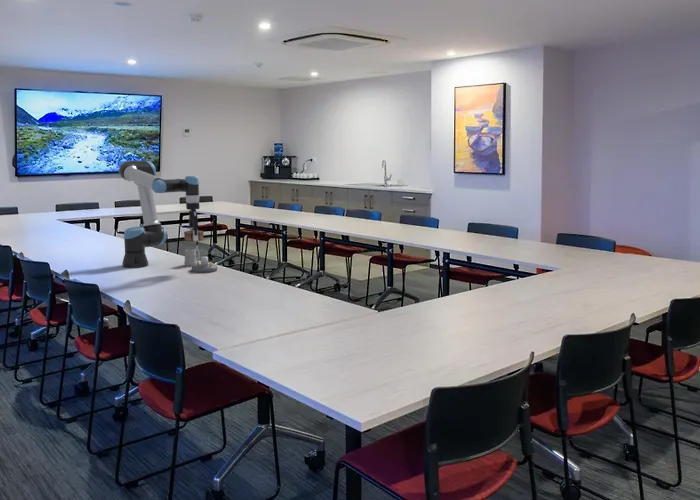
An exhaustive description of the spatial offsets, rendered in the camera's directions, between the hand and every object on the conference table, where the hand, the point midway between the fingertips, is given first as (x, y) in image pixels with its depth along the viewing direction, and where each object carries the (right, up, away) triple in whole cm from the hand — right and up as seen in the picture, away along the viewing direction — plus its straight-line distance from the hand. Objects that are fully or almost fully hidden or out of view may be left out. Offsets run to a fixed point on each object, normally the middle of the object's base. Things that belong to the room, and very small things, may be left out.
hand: (194, 239), depth 371 cm
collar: (0, 0, 0) cm, 0 cm away
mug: (-6, -16, +22) cm, 28 cm away
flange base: (+5, -18, +5) cm, 20 cm away
